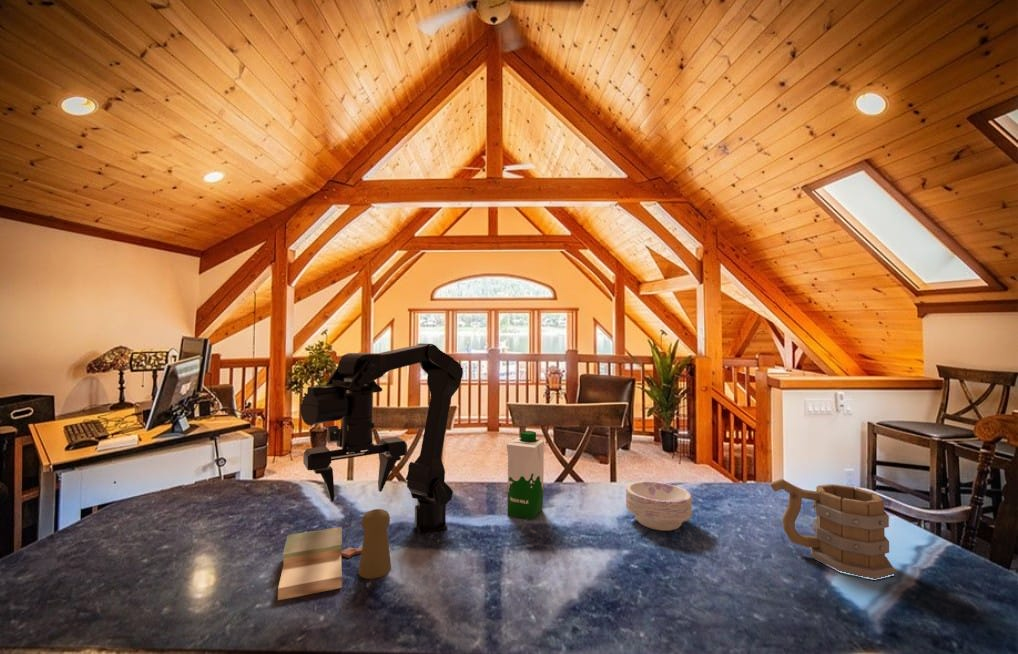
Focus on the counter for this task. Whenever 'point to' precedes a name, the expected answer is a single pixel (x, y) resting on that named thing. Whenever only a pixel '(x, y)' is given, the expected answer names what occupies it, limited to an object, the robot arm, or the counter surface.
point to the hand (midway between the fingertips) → (356, 495)
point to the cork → (375, 545)
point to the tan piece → (313, 563)
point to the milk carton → (525, 475)
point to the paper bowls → (659, 504)
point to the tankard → (842, 528)
